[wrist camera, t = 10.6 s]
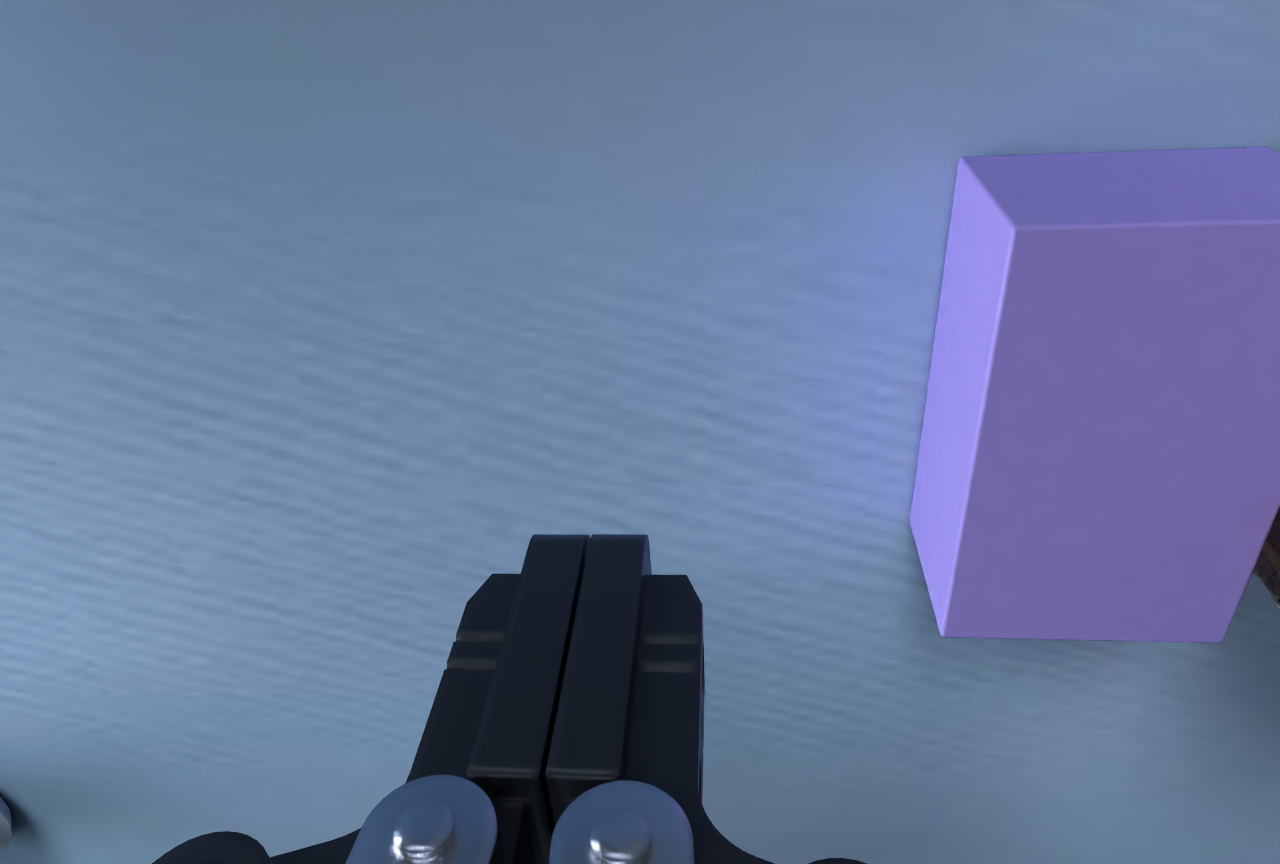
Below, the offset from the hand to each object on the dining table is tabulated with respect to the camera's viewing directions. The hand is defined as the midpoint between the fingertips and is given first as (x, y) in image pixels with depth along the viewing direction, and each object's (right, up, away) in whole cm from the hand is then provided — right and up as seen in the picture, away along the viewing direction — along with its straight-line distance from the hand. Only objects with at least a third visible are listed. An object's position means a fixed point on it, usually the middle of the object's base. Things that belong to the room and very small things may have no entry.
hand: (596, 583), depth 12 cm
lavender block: (+9, +3, +5) cm, 11 cm away
